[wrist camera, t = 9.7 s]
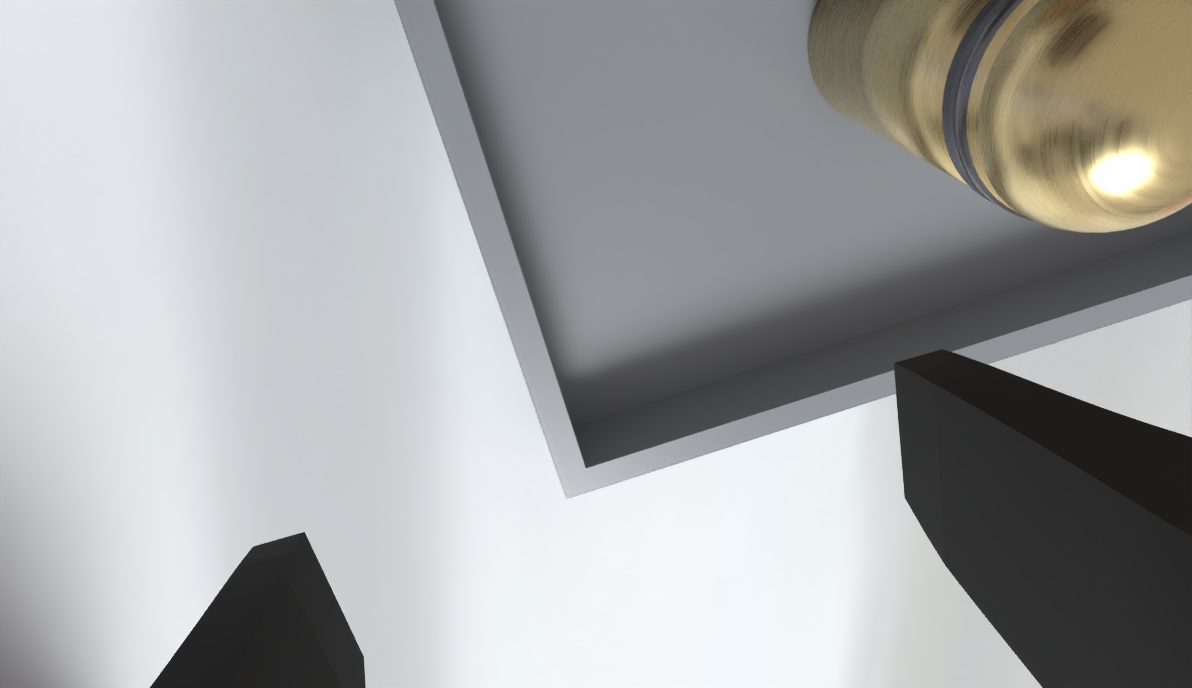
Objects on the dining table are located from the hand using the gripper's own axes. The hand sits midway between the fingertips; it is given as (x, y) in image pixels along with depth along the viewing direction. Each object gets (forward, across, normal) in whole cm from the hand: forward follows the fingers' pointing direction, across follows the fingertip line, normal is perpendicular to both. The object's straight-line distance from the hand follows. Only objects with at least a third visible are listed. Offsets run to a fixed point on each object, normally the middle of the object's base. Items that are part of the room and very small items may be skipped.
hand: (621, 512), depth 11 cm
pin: (+9, -8, -2) cm, 12 cm away
